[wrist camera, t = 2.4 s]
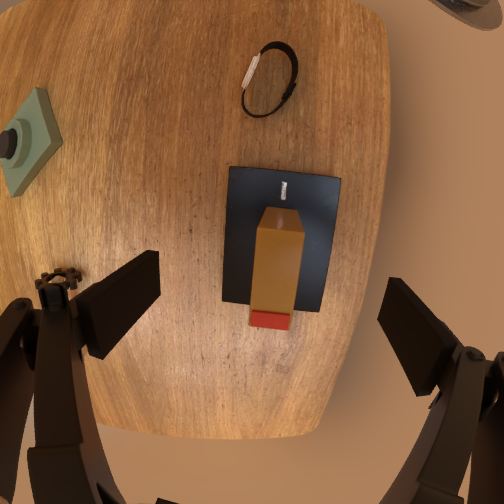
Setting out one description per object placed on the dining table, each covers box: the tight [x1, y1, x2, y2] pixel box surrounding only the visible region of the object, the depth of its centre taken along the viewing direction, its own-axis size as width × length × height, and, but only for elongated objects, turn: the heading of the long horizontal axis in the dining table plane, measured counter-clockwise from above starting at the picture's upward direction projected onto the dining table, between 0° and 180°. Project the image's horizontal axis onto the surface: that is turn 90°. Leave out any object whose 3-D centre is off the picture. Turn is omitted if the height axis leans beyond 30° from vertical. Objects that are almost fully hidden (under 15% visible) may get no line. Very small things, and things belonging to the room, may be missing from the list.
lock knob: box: [248, 207, 305, 331], centre depth 19 cm, size 6×2×8 cm, turn 175°
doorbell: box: [0, 87, 63, 198], centre depth 23 cm, size 12×10×4 cm
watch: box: [241, 41, 298, 118], centre depth 19 cm, size 8×5×4 cm, turn 160°
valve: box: [35, 268, 88, 356], centre depth 28 cm, size 7×7×12 cm
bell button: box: [0, 130, 18, 158], centre depth 21 cm, size 4×4×2 cm
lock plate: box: [222, 166, 341, 312], centre depth 24 cm, size 12×9×3 cm
